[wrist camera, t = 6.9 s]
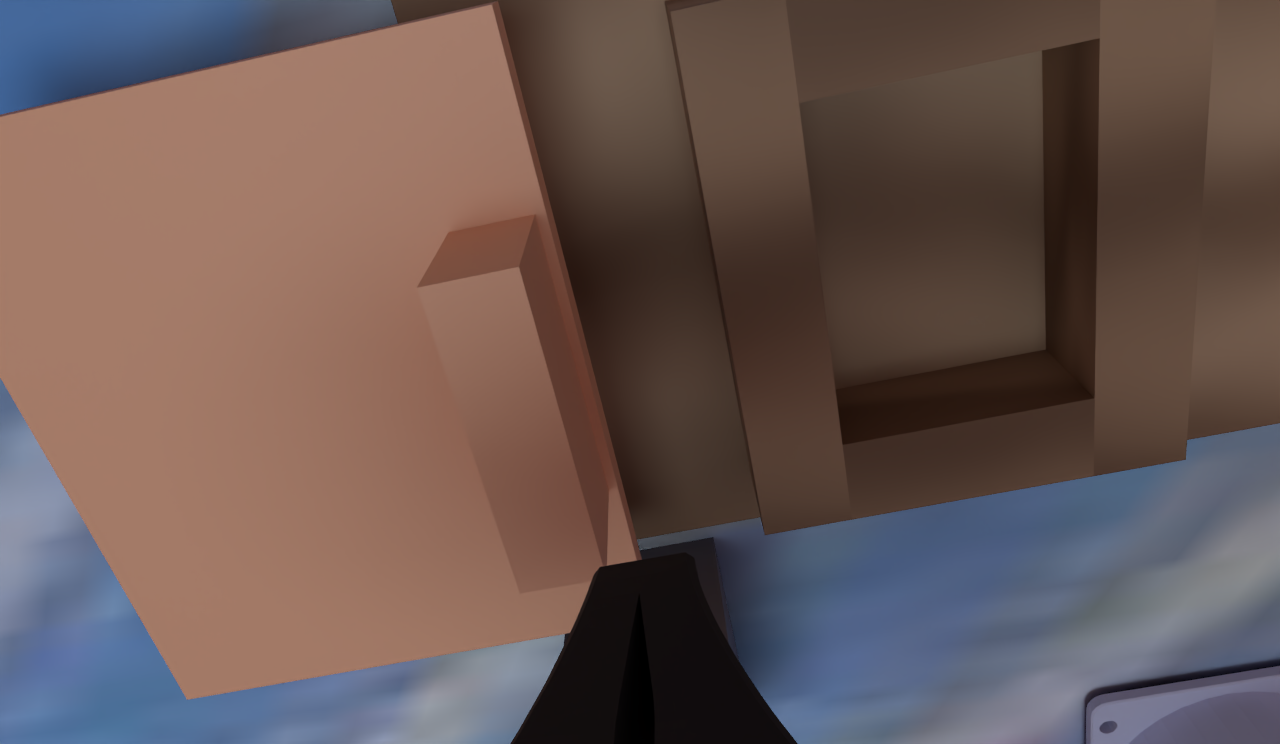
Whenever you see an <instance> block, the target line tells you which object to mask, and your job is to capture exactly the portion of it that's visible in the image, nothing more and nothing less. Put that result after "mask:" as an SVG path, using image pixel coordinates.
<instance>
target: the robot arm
mask: <svg viewBox="0 0 1280 744" xmlns="http://www.w3.org/2000/svg"><path fill="white" fill-rule="evenodd" d="M511 744H797V742H796V741H795V740H794V738H793V737H792V736H791V735H790V733H789V732H788V731H787V730H786V728H785V727H784V726H783V725H782V723H781V722H780V721H779V719H778V718H777V717H776V715H775V714H774V713H773V711H772V710H771V709H770V707H769V706H768V704H767V703H766V702H765V700H764V699H763V697H762V696H761V694H760V693H759V691H758V690H757V689H756V687H755V686H754V684H753V683H752V681H751V680H750V678H749V677H748V675H747V674H746V672H745V670H744V669H743V667H742V666H741V664H740V662H739V661H738V659H737V658H736V656H735V654H734V652H733V650H732V649H731V647H730V645H729V643H728V642H727V640H726V638H725V636H724V634H723V633H722V631H721V629H720V627H719V625H718V623H717V621H716V619H715V617H714V616H713V613H712V611H711V609H710V607H709V604H708V602H707V600H706V598H705V595H704V593H703V590H702V588H701V585H700V581H699V576H698V572H697V567H696V562H695V558H694V557H692V556H691V555H689V554H687V553H686V552H683V553H677V554H672V555H666V556H660V557H654V558H648V559H643V560H637V561H631V562H625V563H619V564H614V565H608V566H602V567H599V569H598V570H597V571H596V572H595V574H594V575H593V578H592V581H591V584H590V587H589V589H588V592H587V594H586V597H585V599H584V602H583V604H582V607H581V609H580V612H579V614H578V616H577V619H576V621H575V623H574V625H573V628H572V630H571V632H570V634H569V637H568V639H567V641H566V643H565V645H564V647H563V649H562V651H561V653H560V655H559V657H558V659H557V661H556V663H555V665H554V667H553V669H552V671H551V673H550V675H549V677H548V679H547V681H546V683H545V685H544V687H543V689H542V690H541V692H540V694H539V696H538V697H537V699H536V701H535V703H534V705H533V706H532V708H531V710H530V712H529V713H528V715H527V717H526V719H525V720H524V722H523V724H522V726H521V727H520V729H519V731H518V732H517V734H516V736H515V737H514V739H513V740H512V742H511ZM1086 744H1280V666H1275V667H1269V668H1263V669H1257V670H1251V671H1244V672H1238V673H1232V674H1226V675H1220V676H1213V677H1207V678H1201V679H1195V680H1189V681H1182V682H1176V683H1170V684H1164V685H1158V686H1152V687H1145V688H1139V689H1133V690H1127V691H1121V692H1114V693H1108V694H1102V695H1099V696H1096V697H1095V698H1093V699H1092V700H1091V701H1090V702H1089V703H1088V705H1087V708H1086Z"/></svg>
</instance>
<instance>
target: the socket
mask: <svg viewBox="0 0 1280 744" xmlns="http://www.w3.org/2000/svg"><path fill="white" fill-rule="evenodd" d="M496 1H498V3H499V7H500V11H501V15H502V19H503V22H504V26H505V30H506V34H507V38H508V42H509V46H510V50H511V53H512V57H513V61H514V65H515V69H516V73H517V77H518V81H519V85H520V88H521V92H522V96H523V100H524V104H525V108H526V112H527V116H528V119H529V123H530V127H531V131H532V135H533V139H534V143H535V147H536V151H537V154H538V158H539V162H540V166H541V170H542V174H543V178H544V182H545V185H546V189H547V193H548V197H549V201H550V205H551V209H552V213H553V217H554V220H555V224H556V228H557V232H558V236H559V240H560V244H561V248H562V251H563V255H564V259H565V263H566V267H567V271H568V275H569V279H570V283H571V286H572V290H573V294H574V298H575V302H576V306H577V310H578V314H579V317H580V321H581V325H582V329H583V333H584V337H585V341H586V345H587V349H588V352H589V356H590V360H591V364H592V368H593V372H594V376H595V380H596V383H597V387H598V391H599V395H600V399H601V403H602V407H603V411H604V415H605V418H606V422H607V426H608V430H609V434H610V438H611V442H612V446H613V449H614V453H615V457H616V461H617V465H618V469H619V473H620V477H621V481H622V484H623V488H624V492H625V496H626V500H627V504H628V508H629V512H630V515H631V519H632V523H633V527H634V531H635V535H636V539H642V538H648V537H653V536H659V535H664V534H670V533H675V532H681V531H686V530H692V529H697V528H703V527H708V526H714V525H719V524H725V523H731V522H736V521H742V520H747V519H753V518H758V517H761V521H762V525H763V529H764V533H765V535H768V534H774V533H779V532H785V531H790V530H796V529H801V528H807V527H813V526H818V525H824V524H829V523H835V522H841V521H846V520H852V519H857V518H863V517H868V516H874V515H880V514H885V513H891V512H896V511H902V510H907V509H913V508H919V507H924V506H930V505H935V504H941V503H946V502H952V501H958V500H963V499H969V498H974V497H980V496H985V495H991V494H997V493H1002V492H1008V491H1013V490H1019V489H1024V488H1030V487H1036V486H1041V485H1047V484H1052V483H1058V482H1063V481H1069V480H1075V479H1080V478H1086V477H1091V476H1097V475H1102V474H1108V473H1114V472H1119V471H1125V470H1130V469H1136V468H1141V467H1147V466H1153V465H1158V464H1164V463H1169V462H1175V461H1181V460H1186V447H1187V440H1189V439H1195V438H1200V437H1206V436H1211V435H1217V434H1222V433H1228V432H1233V431H1239V430H1244V429H1250V428H1255V427H1261V426H1267V425H1272V424H1278V423H1280V0H391V2H392V5H393V9H394V12H395V15H396V18H397V22H398V24H399V23H404V22H408V21H413V20H417V19H421V18H426V17H430V16H434V15H439V14H443V13H448V12H452V11H456V10H461V9H465V8H469V7H474V6H478V5H483V4H487V3H491V2H496Z"/></svg>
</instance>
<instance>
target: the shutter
mask: <svg viewBox="0 0 1280 744" xmlns="http://www.w3.org/2000/svg"><path fill="white" fill-rule="evenodd" d="M0 378H1V380H2V381H3V383H4V385H5V386H6V388H7V390H8V392H9V393H10V395H11V397H12V398H13V400H14V402H15V404H16V405H17V407H18V409H19V411H20V412H21V414H22V416H23V417H24V419H25V421H26V423H27V424H28V426H29V428H30V429H31V431H32V433H33V435H34V436H35V438H36V440H37V442H38V443H39V445H40V447H41V448H42V450H43V452H44V454H45V455H46V457H47V459H48V460H49V462H50V464H51V466H52V467H53V469H54V471H55V473H56V474H57V476H58V478H59V479H60V481H61V483H62V485H63V486H64V488H65V490H66V491H67V493H68V495H69V497H70V498H71V500H72V502H73V504H74V505H75V507H76V509H77V510H78V512H79V514H80V516H81V517H82V519H83V521H84V522H85V524H86V526H87V528H88V529H89V531H90V533H91V535H92V536H93V538H94V540H95V541H96V543H97V545H98V547H99V548H100V550H101V552H102V554H103V555H104V557H105V559H106V560H107V562H108V564H109V566H110V567H111V569H112V571H113V572H114V574H115V576H116V578H117V579H118V581H119V583H120V585H121V586H122V588H123V590H124V591H125V593H126V595H127V597H128V598H129V600H130V602H131V603H132V605H133V607H134V609H135V610H136V612H137V614H138V616H139V617H140V619H141V621H142V622H143V624H144V626H145V628H146V629H147V631H148V633H149V634H150V636H151V638H152V640H153V641H154V643H155V645H156V647H157V648H158V650H159V652H160V653H161V655H162V657H163V659H164V660H165V662H166V664H167V665H168V667H169V669H170V671H171V672H172V674H173V676H174V678H175V679H176V681H177V683H178V684H179V686H180V688H181V690H182V691H183V693H184V695H185V696H186V698H187V700H188V699H193V698H199V697H205V696H210V695H216V694H222V693H228V692H233V691H239V690H245V689H251V688H256V687H262V686H268V685H274V684H279V683H285V682H291V681H297V680H302V679H308V678H314V677H320V676H325V675H331V674H337V673H343V672H348V671H354V670H360V669H366V668H371V667H377V666H383V665H389V664H394V663H400V662H406V661H412V660H417V659H423V658H429V657H434V656H440V655H446V654H452V653H457V652H463V651H469V650H475V649H480V648H486V647H492V646H498V645H503V644H509V643H515V642H521V641H526V640H532V639H538V638H544V637H549V636H555V635H561V634H567V633H570V632H571V630H572V628H573V625H574V623H575V621H576V619H577V616H578V614H579V612H580V609H581V607H582V604H583V602H584V599H585V597H586V594H587V592H588V589H589V587H590V584H591V581H592V578H593V575H594V574H595V572H596V571H597V570H598V569H599V567H602V566H608V565H614V564H619V563H625V562H631V561H637V560H642V558H641V554H640V550H639V547H638V543H637V539H636V535H635V531H634V527H633V523H632V519H631V515H630V512H629V508H628V504H627V500H626V496H625V492H624V488H623V484H622V481H621V477H620V473H619V469H618V465H617V461H616V457H615V453H614V449H613V446H612V442H611V438H610V434H609V430H608V426H607V422H606V418H605V415H604V411H603V407H602V403H601V399H600V395H599V391H598V387H597V383H596V380H595V376H594V372H593V368H592V364H591V360H590V356H589V352H588V349H587V345H586V341H585V337H584V333H583V329H582V325H581V321H580V317H579V314H578V310H577V306H576V302H575V298H574V294H573V290H572V286H571V283H570V279H569V275H568V271H567V267H566V263H565V259H564V255H563V251H562V248H561V244H560V240H559V236H558V232H557V228H556V224H555V220H554V217H553V213H552V209H551V205H550V201H549V197H548V193H547V189H546V185H545V182H544V178H543V174H542V170H541V166H540V162H539V158H538V154H537V151H536V147H535V143H534V139H533V135H532V131H531V127H530V123H529V119H528V116H527V112H526V108H525V104H524V100H523V96H522V92H521V88H520V85H519V81H518V77H517V73H516V69H515V65H514V61H513V57H512V53H511V50H510V46H509V42H508V38H507V34H506V30H505V26H504V22H503V19H502V15H501V11H500V7H499V3H498V1H496V2H491V3H487V4H483V5H478V6H474V7H469V8H465V9H461V10H456V11H452V12H448V13H443V14H439V15H434V16H430V17H426V18H421V19H417V20H413V21H408V22H404V23H399V24H395V25H391V26H386V27H382V28H378V29H373V30H369V31H364V32H360V33H356V34H351V35H347V36H343V37H338V38H334V39H329V40H325V41H321V42H316V43H312V44H308V45H303V46H299V47H294V48H290V49H286V50H281V51H277V52H273V53H268V54H264V55H260V56H255V57H251V58H246V59H242V60H238V61H233V62H229V63H225V64H220V65H216V66H211V67H207V68H203V69H198V70H194V71H190V72H185V73H181V74H176V75H172V76H168V77H163V78H159V79H155V80H150V81H146V82H141V83H137V84H133V85H128V86H124V87H120V88H115V89H111V90H106V91H102V92H98V93H93V94H89V95H85V96H80V97H76V98H71V99H67V100H63V101H58V102H54V103H50V104H45V105H41V106H37V107H32V108H28V109H23V110H19V111H15V112H10V113H6V114H2V115H0Z"/></svg>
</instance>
